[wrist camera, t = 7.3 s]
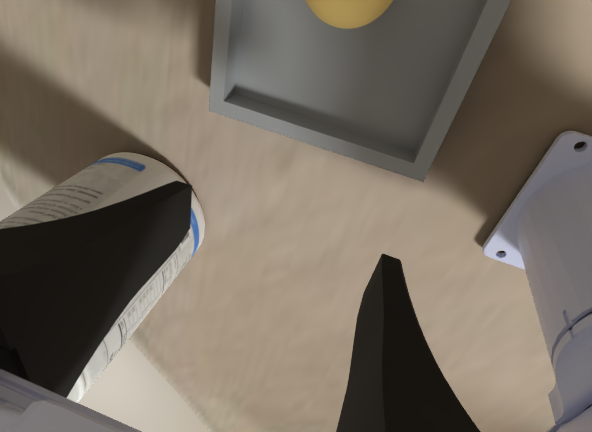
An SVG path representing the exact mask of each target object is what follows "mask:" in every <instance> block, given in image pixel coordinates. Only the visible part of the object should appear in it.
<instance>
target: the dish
mask: <svg viewBox="0 0 592 432" xmlns="http://www.w3.org/2000/svg"><path fill="white" fill-rule="evenodd" d="M510 2H511V0H393V1H392V3H391V4H390V6H389V7H388V8H387V10H386V11H385V12H384V13H383V14H382V15H381V16H379V17H378V18H377V19H375V20H374V21H372V22H371V23H369V24H367V25H364V26H361V27H358V28H351V29H343V28H337V27H334V26H331V25H329V24H327V23H325V22H324V21H322V20H321V19H320V18H318V17H317V16H316V15H315V14H314V13H313V12H312V10H311V9H310V7H309V6H308V4H307V2H306V0H216V3H215V19H214V35H213V51H212V67H211V83H210V99H209V111H211V112H214V113H217V114H220V115H223V116H226V117H229V118H232V119H235V120H238V121H241V122H244V123H247V124H250V125H253V126H256V127H259V128H262V129H265V130H268V131H271V132H274V133H277V134H280V135H283V136H286V137H289V138H292V139H295V140H298V141H301V142H305V143H308V144H311V145H314V146H317V147H320V148H323V149H326V150H329V151H332V152H335V153H338V154H341V155H344V156H347V157H350V158H353V159H356V160H359V161H362V162H365V163H368V164H371V165H374V166H377V167H380V168H383V169H386V170H389V171H392V172H395V173H398V174H401V175H404V176H407V177H410V178H413V179H416V180H419V181H422V182H423V181H424V179H425V177H426V175H427V173H428V171H429V169H430V167H431V165H432V163H433V160H434V158H435V156H436V154H437V152H438V150H439V148H440V146H441V144H442V142H443V140H444V138H445V136H446V134H447V132H448V130H449V128H450V126H451V123H452V121H453V119H454V117H455V115H456V113H457V111H458V109H459V107H460V105H461V103H462V101H463V99H464V97H465V95H466V93H467V91H468V88H469V86H470V84H471V82H472V80H473V78H474V76H475V74H476V72H477V70H478V68H479V66H480V64H481V62H482V60H483V58H484V56H485V54H486V51H487V49H488V47H489V45H490V43H491V41H492V39H493V37H494V35H495V33H496V31H497V29H498V27H499V25H500V23H501V21H502V19H503V16H504V14H505V12H506V10H507V8H508V6H509V4H510Z"/></svg>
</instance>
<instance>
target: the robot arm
mask: <svg viewBox="0 0 592 432" xmlns="http://www.w3.org/2000/svg"><path fill="white" fill-rule="evenodd" d="M581 141H582V142H585V144H584V146H583V147H582V148H579V149H575V148H574V146H575V144H577V143H578V142H581ZM191 199H192V186H191V185H189V184H186V183H183V182H180V181H174V182H171V183H168V184H165V185H163V186H160V187H158V188H155V189H153V190H150V191H148V192H145V193H142V194H140V195H137V196H135V197H132V198H129V199H127V200H124V201H121V202H118V203H115V204H112V205H109V206H106V207H103V208H100V209H97V210H94V211H90V212H87V213H83V214H79V215H75V216H71V217H67V218H63V219H58V220H53V221H47V222H42V223H37V224H31V225H25V226H18V227H10V228H2V229H0V432H141V431H139V430H137V429H134V428H132V427H130V426H128V425H125V424H123V423H121V422H119V421H116V420H114V419H112V418H110V417H107V416H105V415H103V414H101V413H99V412H96V411H94V410H92V409H89V408H87V407H85V406H83V405H80V404H78V403H76V402H74V401H72V400H69V399H67V397H68V395H69V393H70V392H71V390H72V388H73V387H74V385H75V383H76V382H77V380H78V378H79V377H80V375H81V373H82V372H83V370H84V368H85V367H86V365H87V364H88V362H89V361H90V359H91V358H92V356H93V354H94V353H95V351H96V350H97V348H98V347H99V345H100V344H101V342H102V341H103V339H104V338H105V336H106V335H107V333H108V332H109V330H110V329H111V328H112V326H113V325H114V323H115V322H116V320H117V319H118V318H119V316H120V315H121V313H122V312H123V311H124V309H125V308H126V307H127V305H128V304H129V302H130V301H131V300H132V299H133V297H134V296H135V295H136V294H137V293H138V291H139V290H140V289H141V288H142V287H143V286H144V285H145V284H146V282H147V281H148V280H149V279H150V278H151V277H152V276H153V275H154V274H155V273H156V271H157V270H158V269H159V268H160V267H161V266H162V265H163V264H164V263H165V261H166V260H167V259H168V258H169V257H170V256H171V255H172V254H173V252H174V251H175V250H176V249H177V247H178V246H179V245H180V243H181V242H182V240H183V239H184V237H185V236H186V234H187V233H188V231H189V229H190V224H191ZM482 248H483V253H484V255H486V256H487V257H490V258H493V259H496V260H498V261H501V262H504V263H507V264H510V265H513V266H516V267H519V268H522V269H524V270H525V271H526V274H527V278H528V281H529V285H530V288H531V292H532V295H533V299H534V303H535V306H536V310H537V313H538V317H539V320H540V324H541V327H542V331H543V335H544V338H545V342H546V345H547V349H548V352H549V356H550V359H551V363H552V367H553V370H554V374H555V379H556V384H555V387H554V389H553V390H552V391H551V392H550V393H549V395H548V396H549V400H550V404H551V408H552V412H553V416H554V420H555V423H556V425H555V426H553V427H552V428H550V429H549V430H547V431H546V432H592V136H590V135H586V134H583V133H580V132H576V131H565V132H563V133H561V134H560V135H559V136H558V137H557V138H556V139H555V141H554V142H553V144H552V145H551V147H550V148H549V150H548V151H547V153H546V154H545V155H544V157H543V158H542V160H541V161H540V163H539V164H538V166H537V167H536V169H535V170H534V171H533V173H532V174H531V176H530V177H529V179H528V180H527V182H526V183H525V185H524V186H523V188H522V189H521V190H520V192H519V193H518V195H517V196H516V198H515V199H514V201H513V202H512V204H511V205H510V206H509V208H508V209H507V211H506V212H505V214H504V215H503V217H502V218H501V220H500V221H499V223H498V224H497V225H496V227H495V228H494V230H493V231H492V233H491V234H490V236H489V237H488V239H487V240H486V241H485V243H484V244H483V247H482ZM498 251H505V252H504V253H501V254H499V253H497V252H498ZM336 432H480V431H479V429H478V428H477V427H476V425H475V424H474V422H473V421H472V420H471V418H470V417H469V415H468V414H467V412H466V411H465V409H464V408H463V407H462V405H461V404H460V402H459V400H458V399H457V397H456V396H455V394H454V392H453V391H452V389H451V387H450V386H449V384H448V382H447V381H446V379H445V378H444V376H443V374H442V372H441V370H440V368H439V367H438V365H437V363H436V361H435V359H434V357H433V355H432V353H431V351H430V349H429V346H428V344H427V342H426V340H425V337H424V335H423V332H422V330H421V327H420V325H419V322H418V320H417V317H416V314H415V311H414V308H413V305H412V302H411V299H410V296H409V292H408V289H407V285H406V281H405V277H404V273H403V269H402V264H401V261H400V260H399V259H396V258H394V257H391V256H388V255H385V254H382V255H381V257H380V260H379V262H378V264H377V266H376V268H375V270H374V272H373V274H372V277H371V279H370V281H369V283H368V285H367V287H366V289H365V291H364V294H363V298H362V302H361V305H360V309H359V313H358V317H357V323H356V330H355V337H354V344H353V352H352V359H351V366H350V374H349V380H348V385H347V390H346V394H345V398H344V402H343V407H342V411H341V415H340V419H339V423H338V427H337V431H336Z"/></svg>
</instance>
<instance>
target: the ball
mask: <svg viewBox="0 0 592 432" xmlns="http://www.w3.org/2000/svg"><path fill="white" fill-rule="evenodd" d="M392 1H393V0H306V2H307V4H308V6H309V7H310V9H311V10H312V12H313V13H314V14H315V15H316V16H317V17H318V18H320V19H321V20H322V21H324V22H325V23H327V24H329V25H331V26H334V27H337V28H343V29H351V28H358V27H361V26H364V25H367V24H369V23H371V22H372V21H374V20H375V19H377V18H378V17H379V16H381V15H382V14H383V13H384V12H385V11H386V10H387V8H388V7H389V6H390V4H391V3H392Z"/></svg>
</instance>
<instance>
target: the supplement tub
mask: <svg viewBox="0 0 592 432" xmlns="http://www.w3.org/2000/svg"><path fill="white" fill-rule="evenodd" d="M174 181H180V182H183V183H186V182H185V181H184V180H183V179H182V178H181V177H180V176H179V175H178V174H177V173H176V172H175V171H173V170H172V169H171V168H169V167H168V166H166V165H165V164H163V163H161V162H159V161H157V160H155V159H153V158H150V157H147V156H144V155H141V154H137V153H130V152H120V153H114V154H110V155H107V156H105V157H103V158H101V159H99V160H98V161H96V162H94V163H93V164H91V165H89V166H88V167H86V168H85V169H83V170H82V171H80V172H78V173H77V174H75V175H74V176H72V177H70V178H69V179H67V180H66V181H64V182H62V183H61V184H59V185H58V186H56V187H54V188H53V189H51V190H50V191H48V192H46V193H45V194H43V195H42V196H40V197H39V198H37V199H35V200H34V201H32V202H31V203H29V204H27V205H26V206H24V207H23V208H21V209H19V210H18V211H16V212H15V213H13V214H11V215H10V216H8V217H7V218H5V219H4V220H2V221H1V222H0V229H2V228H10V227H18V226H25V225H31V224H37V223H42V222H47V221H53V220H58V219H63V218H67V217H71V216H75V215H79V214H83V213H87V212H90V211H94V210H97V209H100V208H103V207H106V206H109V205H112V204H115V203H118V202H121V201H124V200H127V199H129V198H132V197H135V196H137V195H140V194H142V193H145V192H148V191H150V190H153V189H155V188H158V187H160V186H163V185H165V184H168V183H171V182H174ZM186 184H187V183H186ZM204 232H205V221H204V215H203V211H202V208H201V206H200V203H199V201H198V199H197V197H196V196H195V194H194V192H193V191H192V199H191V224H190V229H189V231H188V233H187V234H186V236H185V237H184V239H183V240H182V242H181V243H180V245H179V246H178V247H177V249H176V250H175V251H174V252H173V254H172V255H171V256H170V257H169V258H168V259H167V260H166V261H165V263H164V264H163V265H162V266H161V267H160V268H159V269H158V270H157V271H156V273H155V274H154V275H153V276H152V277H151V278H150V279H149V280H148V281H147V282H146V284H145V285H144V286H143V287H142V288H141V289H140V290H139V291H138V293H137V294H136V295H135V296H134V297H133V299H132V300H131V301H130V302H129V304H128V305H127V307H126V308H125V309H124V311H123V312H122V313H121V315H120V316H119V318H118V319H117V320H116V322H115V323H114V325H113V326H112V328H111V329H110V330H109V332H108V333H107V335H106V336H105V338H104V339H103V341H102V342H101V344H100V345H99V347H98V348H97V350H96V351H95V353H94V354H93V356H92V358H91V359H90V361H89V362H88V364H87V365H86V367H85V368H84V370H83V372H82V373H81V375H80V377H79V378H78V380H77V382H76V383H75V385H74V387H73V388H72V390H71V392H70V393H69V395H68V397H67V399H69V400H72V401H74V402H76V403H77V402H78V401H80V400H81V399H82V397H83V396H84V394H85V393H86V392H87V391H88V390H89V388H90V387H91V386H92V385H93V383H94V382H95V381H96V379H97V378H98V377H99V376H100V374H101V373H102V372H103V371H104V370H105V368H106V367H107V366H108V364H109V363H110V362H111V361H112V359H113V358H114V357H115V355H116V354H117V353H118V352H119V350H120V349H121V348H122V346H123V345H124V344H125V343H126V341H127V340H128V339H129V338H130V336H131V335H132V334H133V332H134V331H135V330H136V329H137V327H138V326H139V325H140V323H141V322H142V321H143V319H144V318H145V317H146V316H147V314H148V313H149V312H150V310H151V309H152V308H153V307H154V305H155V304H156V303H157V301H158V300H159V299H160V298H161V296H162V295H163V294H164V292H165V291H166V290H167V289H168V287H169V286H170V285H171V283H172V282H173V281H174V279H175V278H176V277H177V276H178V274H179V273H180V272H181V270H182V269H183V268H184V266H185V265H186V264H187V263H188V261H189V260H190V259H191V257H192V256H193V255H194V253H195V252H196V251H197V250H198V248H199V246H200V245H201V243H202V240H203V237H204Z"/></svg>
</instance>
